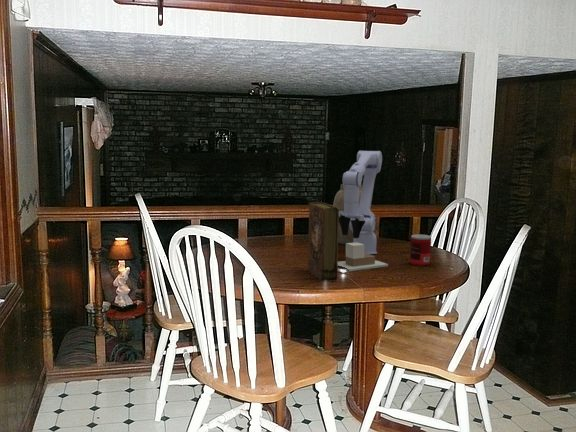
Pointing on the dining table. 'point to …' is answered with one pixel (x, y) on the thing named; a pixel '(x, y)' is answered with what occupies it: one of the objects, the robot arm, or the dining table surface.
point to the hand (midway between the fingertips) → (350, 236)
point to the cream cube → (354, 250)
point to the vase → (340, 204)
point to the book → (323, 240)
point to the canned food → (420, 250)
